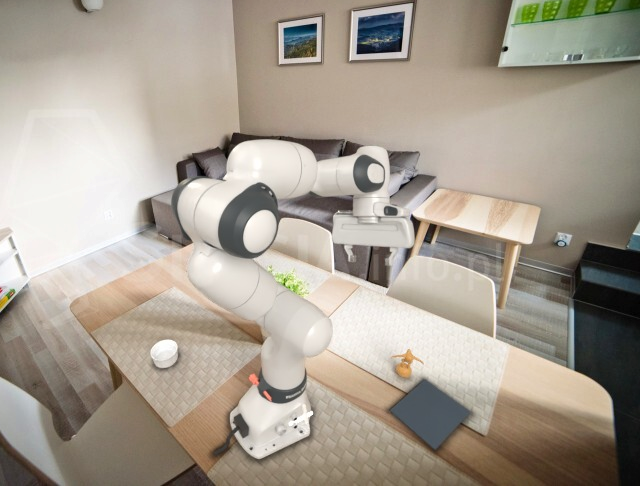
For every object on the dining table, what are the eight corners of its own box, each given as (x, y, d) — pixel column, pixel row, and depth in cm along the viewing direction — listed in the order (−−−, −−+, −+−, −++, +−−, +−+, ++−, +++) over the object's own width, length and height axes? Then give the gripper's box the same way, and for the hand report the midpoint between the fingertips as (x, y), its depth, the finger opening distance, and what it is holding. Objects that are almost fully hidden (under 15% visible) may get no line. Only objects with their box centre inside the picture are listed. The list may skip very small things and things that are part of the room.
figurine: (417, 372, 97) (424, 342, 91) (420, 390, 91) (427, 359, 86) (387, 366, 99) (391, 336, 94) (388, 383, 94) (393, 352, 89)
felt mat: (434, 450, 77) (435, 449, 77) (389, 411, 87) (389, 409, 87) (469, 413, 85) (470, 411, 84) (424, 380, 94) (424, 379, 94)
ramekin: (147, 366, 106) (144, 356, 105) (162, 346, 114) (159, 336, 112) (170, 372, 103) (168, 363, 101) (184, 351, 111) (182, 342, 109)
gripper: (328, 210, 89) (327, 260, 89) (409, 209, 75) (408, 268, 75) (338, 210, 94) (337, 259, 94) (416, 210, 80) (416, 266, 80)
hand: (370, 263), depth 84 cm, fingers open, 8 cm apart
